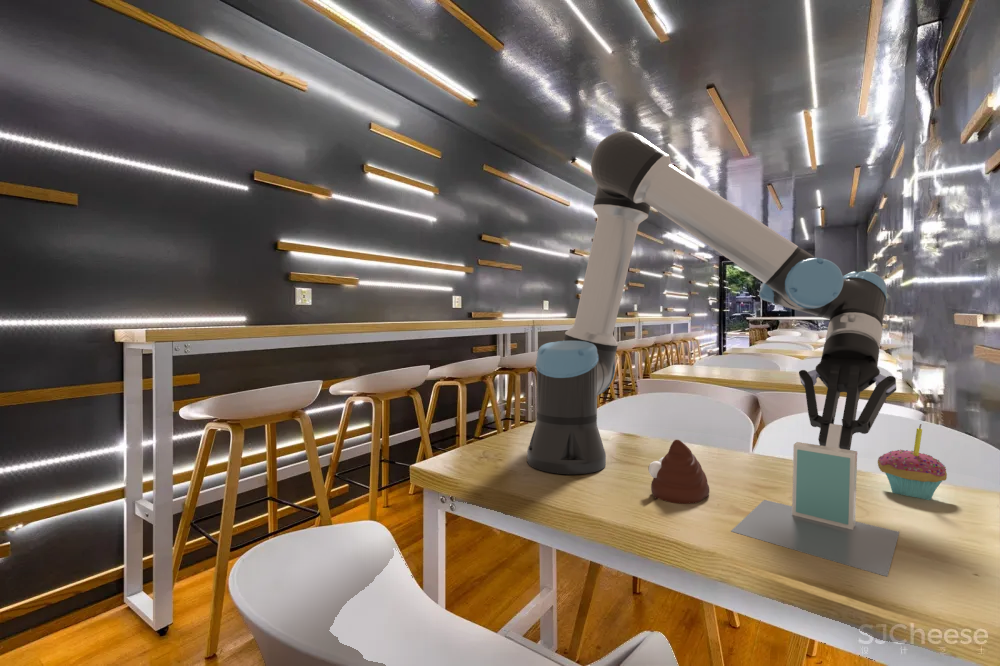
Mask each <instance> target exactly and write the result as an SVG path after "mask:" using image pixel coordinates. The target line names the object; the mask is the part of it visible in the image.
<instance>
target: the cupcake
mask: <svg viewBox="0 0 1000 666" xmlns="http://www.w3.org/2000/svg"><path fill="white" fill-rule="evenodd" d="M922 435H923V428H922V423H920V424H919V427H917V428H916V432H915V439H914V447H913V450H908V449H907V450H903V449H900V450H899V449H897V450H891V451H888V452H886V453H883V454H882V455H880V456H878V458H877V466H878V469H879V470H880V471H881V472H882V473H884V474H885V475H886V478H887V480H888V483H889V485H890V486H889V487H890V489H891V492H892V493H893V494H897V495H902V496H905V497H906V496H907V497H912V498H917V499H922V500H928V501H931V500H932V498H933V496H934V493H935V492H936V490H938V489H937V488H938V487H939V486H940V484H941V483H942V482H943V481H946V480H947V479H948V474H947V468H946V467H947V466H945V464H944V463H942V462H940V459H937V458H935V457H933V456H932V455H930V454H928V453H927V454H925V453H924V452H923V453H920V449H921V441H922Z"/></svg>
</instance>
